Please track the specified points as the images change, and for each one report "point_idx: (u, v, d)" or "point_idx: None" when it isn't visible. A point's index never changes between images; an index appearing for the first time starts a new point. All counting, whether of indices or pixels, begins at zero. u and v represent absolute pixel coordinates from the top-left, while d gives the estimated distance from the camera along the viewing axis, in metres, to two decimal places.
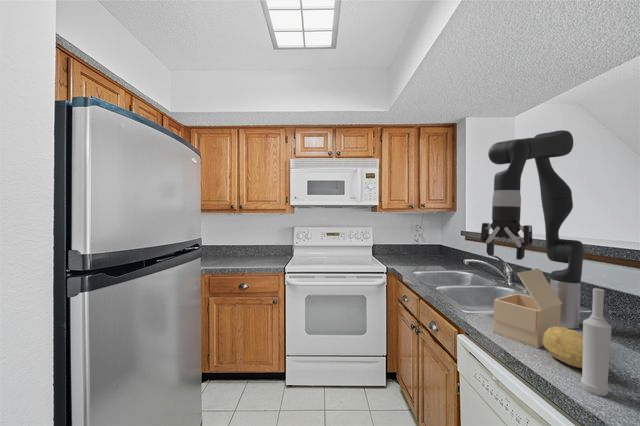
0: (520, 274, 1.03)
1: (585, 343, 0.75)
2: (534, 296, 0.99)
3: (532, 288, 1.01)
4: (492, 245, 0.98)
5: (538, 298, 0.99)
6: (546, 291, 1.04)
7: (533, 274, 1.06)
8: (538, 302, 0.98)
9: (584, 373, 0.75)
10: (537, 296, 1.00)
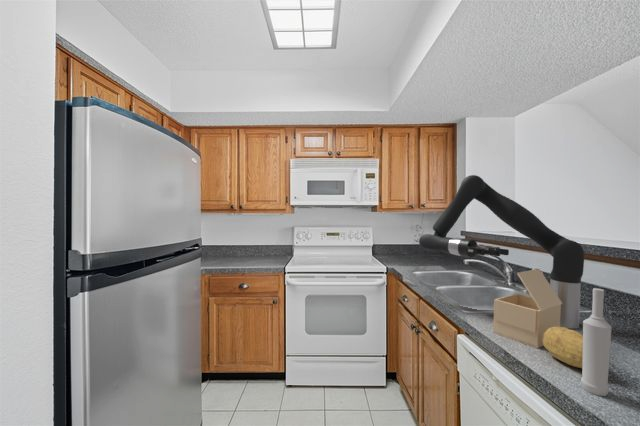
0: (520, 274, 1.03)
1: (585, 343, 0.75)
2: (534, 296, 0.99)
3: (532, 288, 1.01)
4: None
5: (538, 298, 0.99)
6: (546, 291, 1.04)
7: (533, 274, 1.06)
8: (538, 302, 0.98)
9: (584, 373, 0.75)
10: (537, 296, 1.00)
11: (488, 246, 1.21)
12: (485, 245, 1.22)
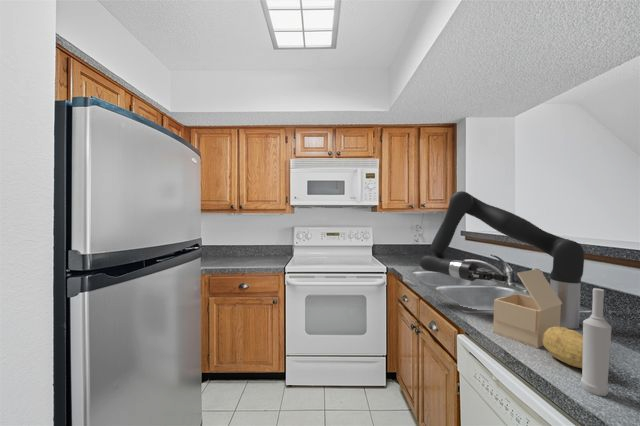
0: (520, 274, 1.03)
1: (585, 343, 0.75)
2: (534, 296, 0.99)
3: (532, 288, 1.01)
4: None
5: (538, 298, 0.99)
6: (546, 291, 1.04)
7: (533, 274, 1.06)
8: (538, 302, 0.98)
9: (584, 373, 0.75)
10: (537, 296, 1.00)
11: (487, 270, 1.20)
12: None
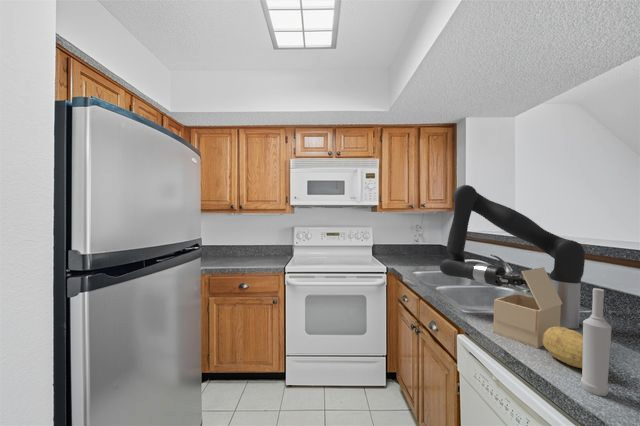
0: (524, 273, 1.01)
1: (585, 343, 0.75)
2: (536, 296, 0.99)
3: (534, 287, 1.00)
4: None
5: (539, 298, 0.99)
6: (548, 291, 1.03)
7: (537, 273, 1.05)
8: (539, 302, 0.98)
9: (584, 373, 0.75)
10: (539, 296, 0.99)
11: None
12: (515, 274, 1.12)
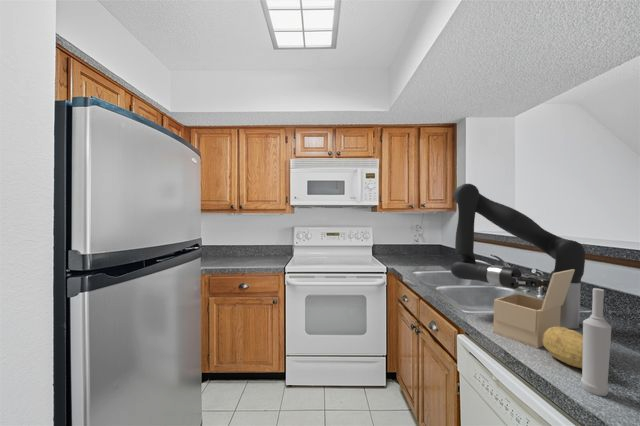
0: (554, 276, 0.94)
1: (585, 342, 0.75)
2: (547, 298, 0.96)
3: (552, 290, 0.96)
4: None
5: (549, 300, 0.97)
6: (560, 293, 1.00)
7: (565, 276, 0.98)
8: (545, 304, 0.96)
9: (584, 373, 0.75)
10: (549, 298, 0.97)
11: (533, 276, 1.06)
12: (531, 275, 1.07)
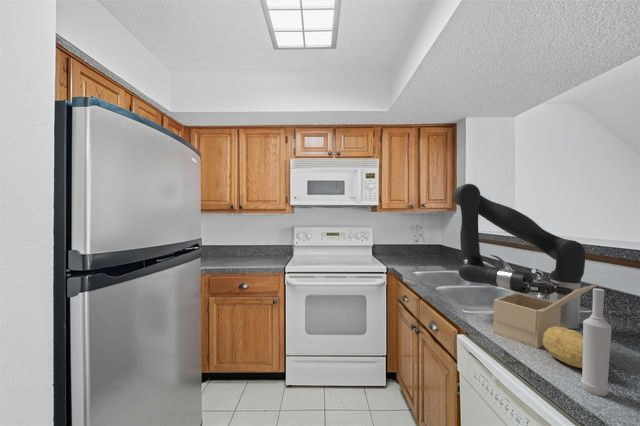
0: (577, 291, 0.89)
1: (585, 343, 0.75)
2: (554, 304, 0.94)
3: (564, 299, 0.93)
4: None
5: (554, 305, 0.95)
6: (568, 299, 0.98)
7: (585, 289, 0.94)
8: (549, 308, 0.95)
9: (584, 373, 0.75)
10: (556, 304, 0.95)
11: (546, 282, 1.02)
12: None
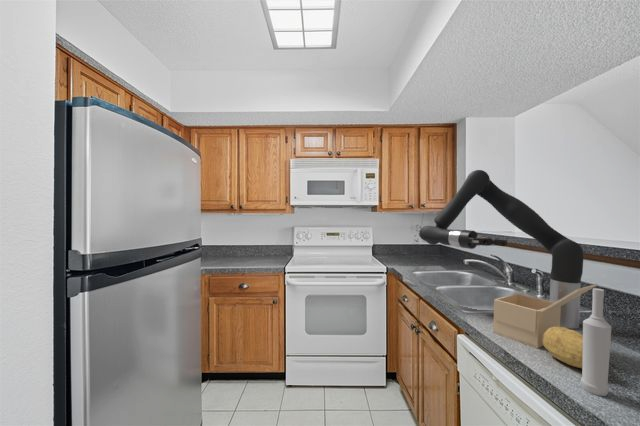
0: (577, 291, 0.89)
1: (585, 343, 0.75)
2: (554, 304, 0.94)
3: (564, 299, 0.93)
4: None
5: (554, 305, 0.95)
6: (568, 300, 0.98)
7: (585, 289, 0.94)
8: (549, 308, 0.95)
9: (584, 373, 0.75)
10: (556, 304, 0.95)
11: None
12: (485, 236, 1.21)
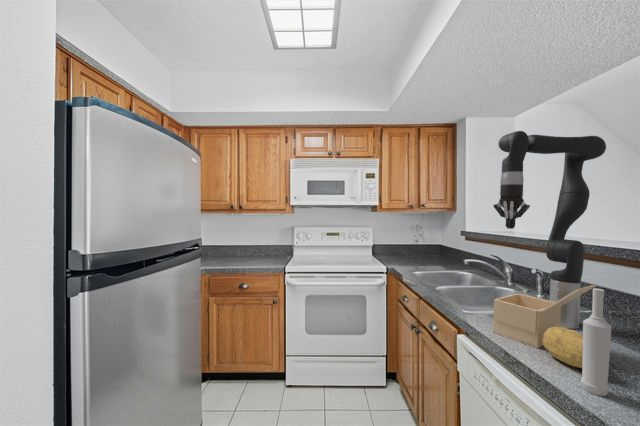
0: (577, 291, 0.89)
1: (585, 343, 0.75)
2: (554, 304, 0.94)
3: (564, 299, 0.93)
4: None
5: (554, 305, 0.95)
6: (568, 300, 0.98)
7: (585, 289, 0.94)
8: (549, 308, 0.95)
9: (584, 373, 0.75)
10: (556, 304, 0.95)
11: None
12: None
